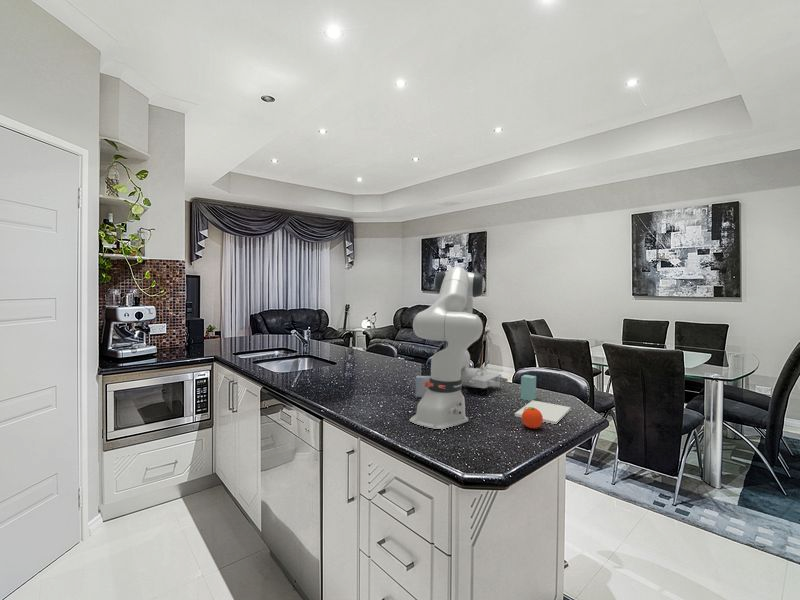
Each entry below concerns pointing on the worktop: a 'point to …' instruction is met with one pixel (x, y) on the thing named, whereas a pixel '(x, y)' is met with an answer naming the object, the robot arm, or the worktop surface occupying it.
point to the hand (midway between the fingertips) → (503, 382)
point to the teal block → (528, 387)
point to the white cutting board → (547, 411)
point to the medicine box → (421, 385)
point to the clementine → (532, 417)
